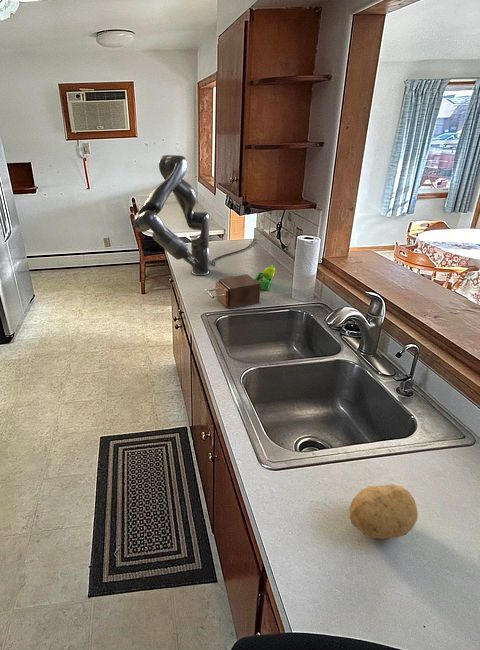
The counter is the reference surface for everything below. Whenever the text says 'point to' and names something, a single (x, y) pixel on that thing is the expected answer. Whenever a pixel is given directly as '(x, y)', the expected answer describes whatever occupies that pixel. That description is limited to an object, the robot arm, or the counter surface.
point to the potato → (383, 511)
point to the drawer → (220, 293)
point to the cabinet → (241, 290)
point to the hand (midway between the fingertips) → (203, 269)
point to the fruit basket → (265, 277)
